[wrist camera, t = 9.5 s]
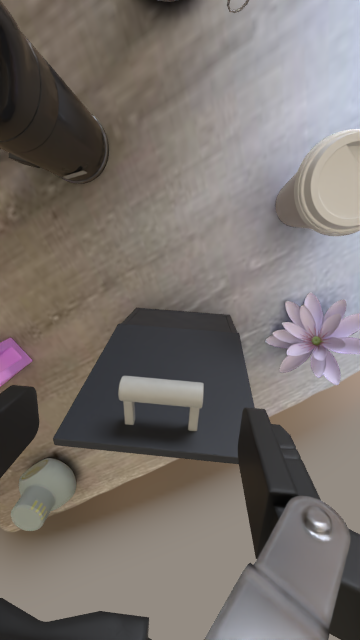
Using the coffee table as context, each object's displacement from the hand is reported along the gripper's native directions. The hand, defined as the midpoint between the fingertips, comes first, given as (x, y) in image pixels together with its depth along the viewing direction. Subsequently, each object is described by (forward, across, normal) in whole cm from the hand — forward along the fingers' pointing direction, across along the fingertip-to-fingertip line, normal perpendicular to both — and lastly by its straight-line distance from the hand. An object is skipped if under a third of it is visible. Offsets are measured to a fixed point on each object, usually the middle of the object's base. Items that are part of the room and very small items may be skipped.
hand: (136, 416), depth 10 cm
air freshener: (+35, +24, +41) cm, 59 cm away
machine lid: (+16, 0, +7) cm, 17 cm away
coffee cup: (+35, -16, -13) cm, 40 cm away
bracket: (+35, +33, +18) cm, 52 cm away
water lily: (+35, -20, +5) cm, 40 cm away
